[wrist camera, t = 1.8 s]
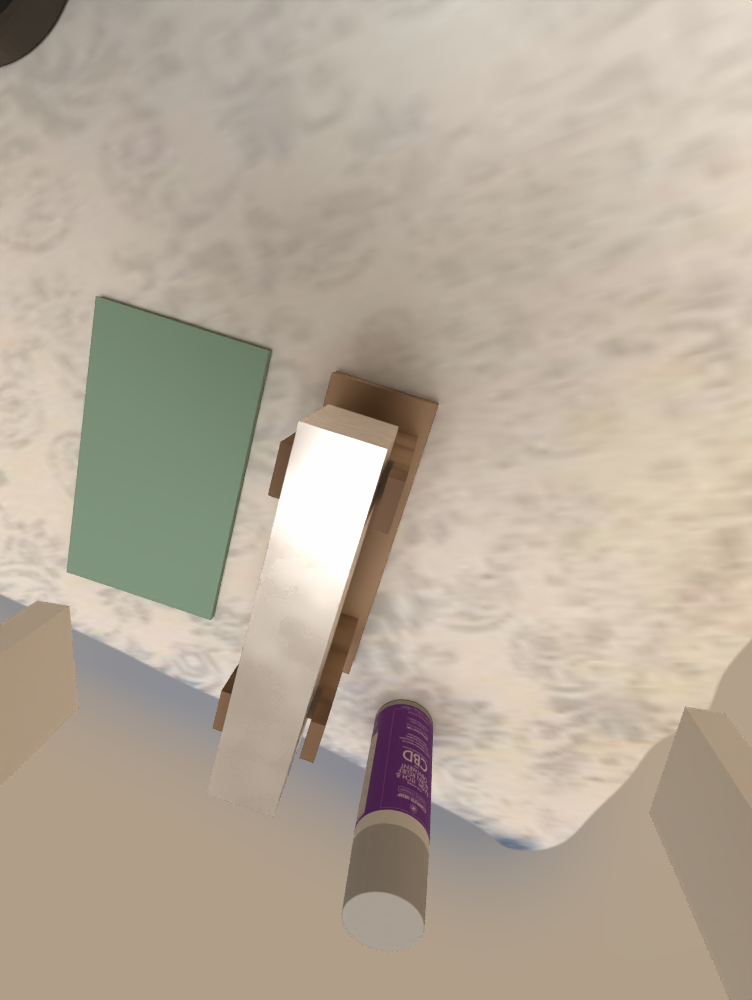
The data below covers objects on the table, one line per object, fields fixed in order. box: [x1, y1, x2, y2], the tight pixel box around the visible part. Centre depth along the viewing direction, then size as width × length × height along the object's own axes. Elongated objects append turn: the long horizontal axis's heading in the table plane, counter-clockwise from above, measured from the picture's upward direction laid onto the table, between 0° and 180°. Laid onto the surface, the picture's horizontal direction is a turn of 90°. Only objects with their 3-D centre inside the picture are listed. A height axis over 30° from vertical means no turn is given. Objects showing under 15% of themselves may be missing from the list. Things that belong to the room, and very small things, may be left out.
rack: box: [213, 371, 438, 763], centre depth 31 cm, size 7×21×12 cm, turn 164°
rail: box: [207, 404, 399, 817], centre depth 26 cm, size 4×20×5 cm, turn 164°
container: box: [342, 700, 433, 952], centre depth 35 cm, size 5×5×15 cm
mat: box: [67, 296, 272, 620], centre depth 38 cm, size 12×21×1 cm, turn 164°
